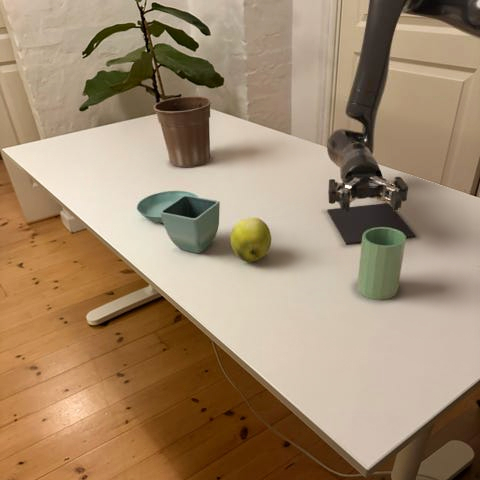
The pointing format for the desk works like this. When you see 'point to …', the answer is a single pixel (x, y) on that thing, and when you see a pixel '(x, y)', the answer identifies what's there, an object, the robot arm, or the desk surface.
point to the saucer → (159, 204)
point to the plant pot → (185, 129)
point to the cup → (380, 262)
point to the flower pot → (192, 222)
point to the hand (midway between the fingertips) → (372, 206)
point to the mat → (366, 221)
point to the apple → (251, 239)
